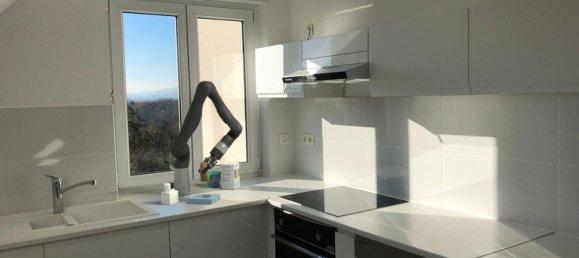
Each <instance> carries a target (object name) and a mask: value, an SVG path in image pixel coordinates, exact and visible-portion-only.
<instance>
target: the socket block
mask: <svg viewBox="0 0 579 258" xmlns="http://www.w3.org/2000/svg"><path fill="white" fill-rule="evenodd" d="M221 198H222V197H221V194H219V193H197V194H194V195H193V196H191V197H189V198H188V204H189V205H213V204H215V203H217V202H218V201H220V200H221Z"/></svg>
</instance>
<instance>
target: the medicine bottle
mask: <svg viewBox="0 0 579 258" xmlns="http://www.w3.org/2000/svg"><path fill="white" fill-rule="evenodd" d="M178 203H179V196H178V191H176V190H175V187H174V183H173V181H172V182H165V183H164V184H163V190H162V191H161V192H160V204H161V205H167V206H171V205H174V204H178Z"/></svg>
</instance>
